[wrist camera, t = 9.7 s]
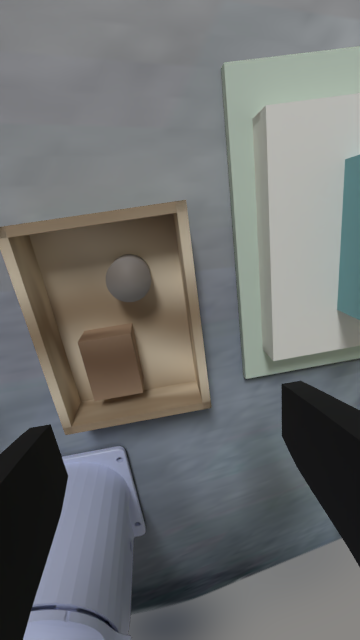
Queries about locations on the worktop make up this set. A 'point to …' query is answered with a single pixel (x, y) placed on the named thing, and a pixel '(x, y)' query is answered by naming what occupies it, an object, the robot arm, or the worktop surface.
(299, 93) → the mat
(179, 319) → the storage box
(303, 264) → the lid
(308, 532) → the worktop surface
